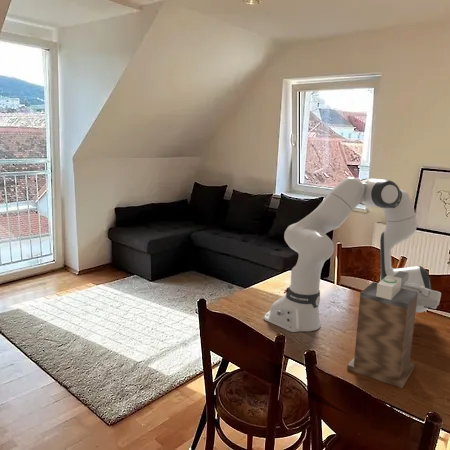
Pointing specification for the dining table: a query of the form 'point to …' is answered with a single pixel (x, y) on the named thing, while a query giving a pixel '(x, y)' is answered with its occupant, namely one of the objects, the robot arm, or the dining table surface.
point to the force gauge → (391, 285)
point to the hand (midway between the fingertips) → (407, 287)
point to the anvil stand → (385, 336)
